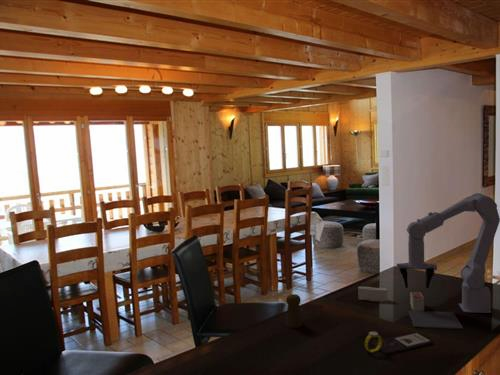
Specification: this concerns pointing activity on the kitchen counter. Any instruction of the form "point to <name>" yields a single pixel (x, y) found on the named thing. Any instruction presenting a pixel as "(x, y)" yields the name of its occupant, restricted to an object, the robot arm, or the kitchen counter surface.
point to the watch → (371, 334)
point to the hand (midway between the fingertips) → (416, 287)
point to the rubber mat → (435, 320)
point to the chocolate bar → (401, 343)
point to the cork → (293, 311)
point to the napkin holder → (372, 294)
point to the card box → (417, 301)
